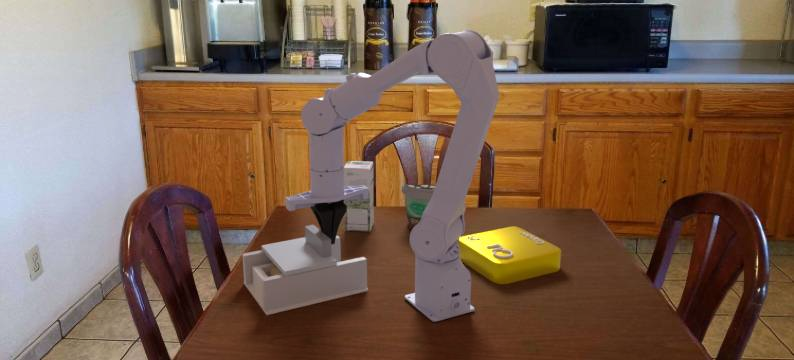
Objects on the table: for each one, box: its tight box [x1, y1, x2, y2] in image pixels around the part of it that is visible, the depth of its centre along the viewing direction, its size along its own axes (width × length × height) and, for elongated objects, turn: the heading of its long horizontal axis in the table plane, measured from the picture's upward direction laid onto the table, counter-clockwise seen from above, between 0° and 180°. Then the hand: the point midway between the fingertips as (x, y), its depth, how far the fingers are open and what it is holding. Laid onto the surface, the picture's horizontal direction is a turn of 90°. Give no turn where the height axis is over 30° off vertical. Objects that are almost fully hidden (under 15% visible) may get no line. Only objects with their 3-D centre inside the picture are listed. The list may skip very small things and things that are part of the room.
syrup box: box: [344, 160, 375, 233], centre depth 137 cm, size 6×6×14 cm
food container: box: [400, 179, 436, 231], centre depth 136 cm, size 12×6×10 cm, turn 73°
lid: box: [261, 224, 337, 276], centre depth 108 cm, size 12×9×4 cm
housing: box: [241, 235, 369, 316], centre depth 110 cm, size 13×18×6 cm
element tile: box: [458, 225, 562, 285], centre depth 121 cm, size 15×15×5 cm
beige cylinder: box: [270, 263, 283, 276], centre depth 108 cm, size 4×4×4 cm
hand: (329, 242), depth 111 cm, fingers closed
